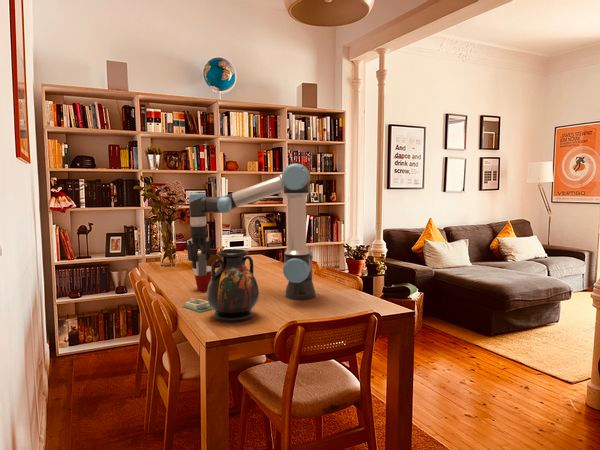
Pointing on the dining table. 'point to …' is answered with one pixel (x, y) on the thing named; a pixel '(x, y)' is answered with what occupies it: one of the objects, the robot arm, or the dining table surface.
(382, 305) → the dining table surface
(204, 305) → the board
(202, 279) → the plastic cup
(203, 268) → the dark grey rectangular block
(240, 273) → the amphora vase
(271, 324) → the dining table surface
